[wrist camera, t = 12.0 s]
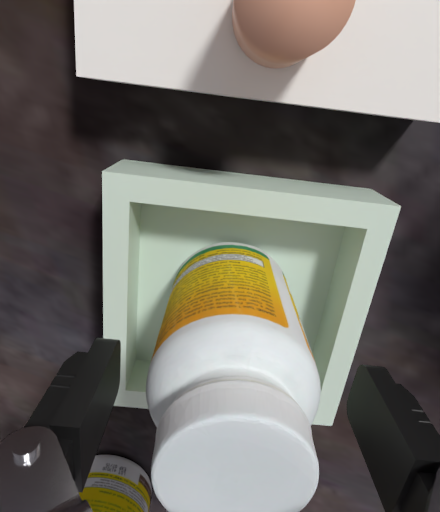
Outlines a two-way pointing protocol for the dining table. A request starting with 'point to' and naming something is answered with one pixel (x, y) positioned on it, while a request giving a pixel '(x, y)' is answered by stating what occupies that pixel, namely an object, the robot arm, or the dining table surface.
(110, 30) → the socket holder
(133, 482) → the supplement bottle
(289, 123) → the dining table surface
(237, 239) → the tray
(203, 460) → the supplement bottle
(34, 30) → the dining table surface
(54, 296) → the dining table surface
